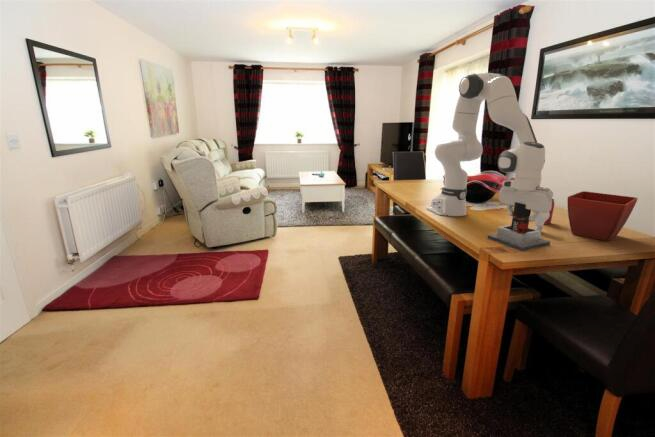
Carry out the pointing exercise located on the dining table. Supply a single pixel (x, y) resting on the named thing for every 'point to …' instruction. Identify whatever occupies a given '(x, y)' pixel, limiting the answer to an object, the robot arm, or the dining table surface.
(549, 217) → the beer can
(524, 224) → the deodorant
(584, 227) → the plant pot
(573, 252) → the dining table surface
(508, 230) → the collar holder
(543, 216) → the lightbulb
